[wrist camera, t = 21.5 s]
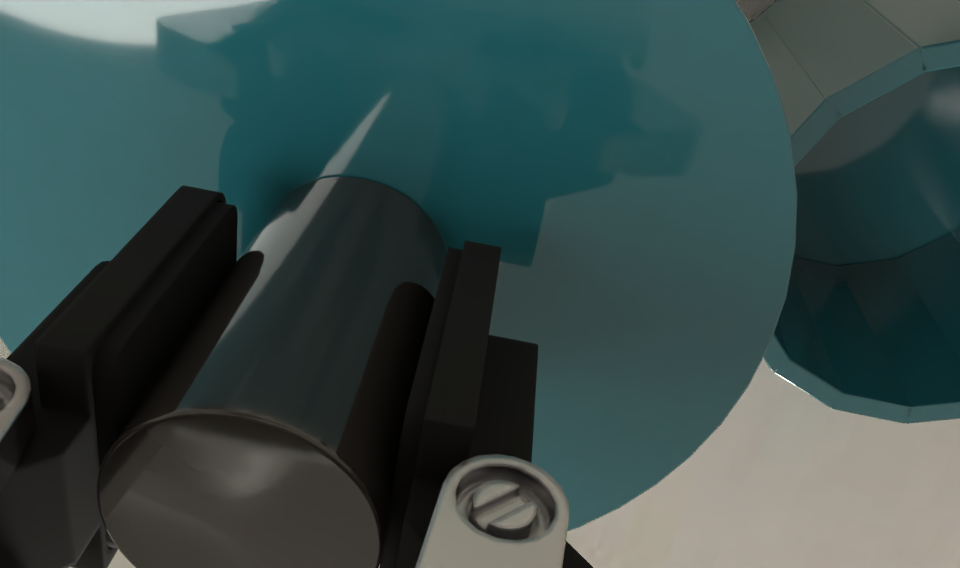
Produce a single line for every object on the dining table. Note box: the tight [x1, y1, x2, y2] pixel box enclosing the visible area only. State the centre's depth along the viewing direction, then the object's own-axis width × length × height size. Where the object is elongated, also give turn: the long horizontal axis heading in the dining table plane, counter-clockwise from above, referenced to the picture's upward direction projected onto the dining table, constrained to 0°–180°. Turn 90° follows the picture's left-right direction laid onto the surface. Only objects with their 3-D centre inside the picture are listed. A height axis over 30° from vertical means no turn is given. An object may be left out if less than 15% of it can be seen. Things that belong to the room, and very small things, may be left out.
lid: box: [0, 0, 798, 568], centre depth 12 cm, size 13×13×7 cm
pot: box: [751, 0, 960, 424], centre depth 28 cm, size 12×12×10 cm
